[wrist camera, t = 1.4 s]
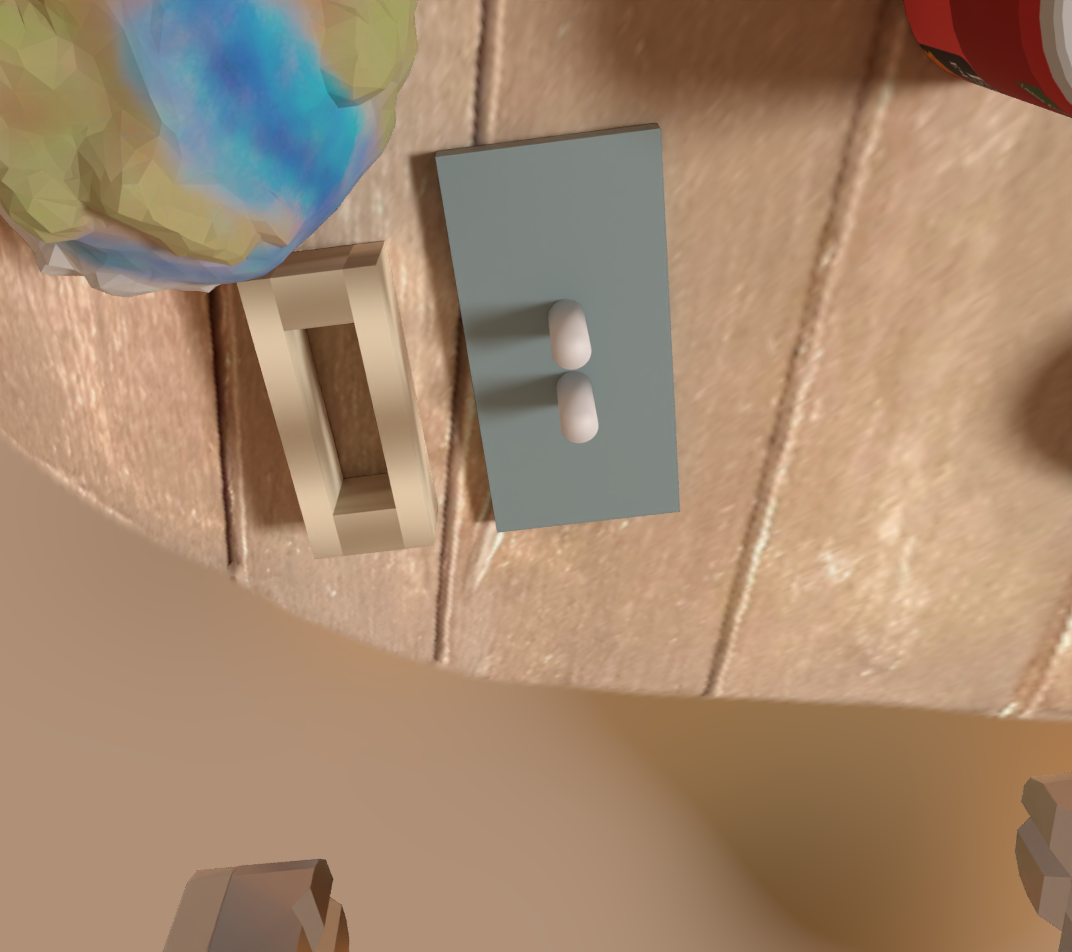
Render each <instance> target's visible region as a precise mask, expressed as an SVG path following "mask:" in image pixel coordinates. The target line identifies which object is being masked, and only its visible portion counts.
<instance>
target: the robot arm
mask: <svg viewBox="0 0 1072 952" xmlns="http://www.w3.org/2000/svg"><path fill="white" fill-rule="evenodd" d="M1021 802H1022V804H1023V805H1024V807H1025V809H1026V810H1027V812H1028V814H1029V815H1030V817H1029V818H1028V819H1027V820H1026V822H1024V824H1022V825H1021V826H1020V827H1019V829H1018V830H1017V836H1016V847H1015V854H1016V859H1017V865H1018V871H1019V876H1020V878H1021V881H1022V883H1023V886H1024V889H1025V891H1026V894H1027V896H1028V898H1029V900H1030V901H1031V903H1032V905H1033V907H1034V909H1035V911H1036V912H1037V914H1038V915H1039V916H1040V917H1041V918H1043V919H1044V920H1046V921H1047V922H1049V923H1050V924H1052V925H1053V926H1055V927H1056V928H1058V929H1059V930H1061V931H1062V933H1061V940H1060V945H1059V950H1058V951H1059V952H1072V772H1070V773H1062V774H1054V775H1046V776H1038V777H1031V778H1030V779H1029V780H1028V781H1027V782H1026V784H1025V785H1024V789H1023V795H1022V801H1021ZM332 883H333V877H332V874H331V872H330V869H329V866H328V864H327V861H326V860H324V859H312V860H301V861H290V862H277V863H266V864H254V865H242V866H237V867H226V868H215V869H205V870H197V871H196V872H195V873H194V875H193V876H192V877H191V878H190V880H189V881H188V883H187V884H186V887H185V890H184V893H183V895H182V898H181V901H180V904H179V907H178V909H177V912H176V915H175V918H174V921H173V923H172V926H171V929H170V932H169V935H168V938H167V940H166V943H165V946H164V949H163V952H349V933H348V927H347V920H346V917H345V913H344V910H343V907H342V905H341V904H340V903H338V902H337V901H335V900H334V899H333V898H331V897H330V894H331V889H332Z"/></svg>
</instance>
